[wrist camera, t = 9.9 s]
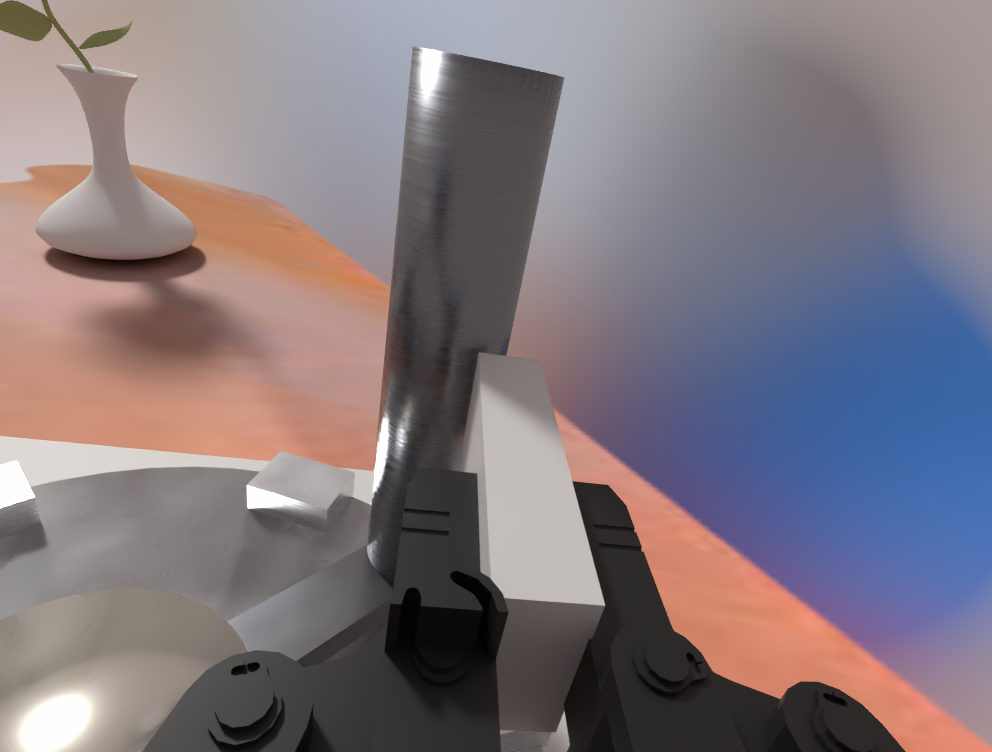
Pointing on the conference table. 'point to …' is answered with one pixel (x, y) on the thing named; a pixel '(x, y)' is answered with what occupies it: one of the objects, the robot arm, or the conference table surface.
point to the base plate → (78, 460)
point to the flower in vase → (102, 163)
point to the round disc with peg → (280, 465)
